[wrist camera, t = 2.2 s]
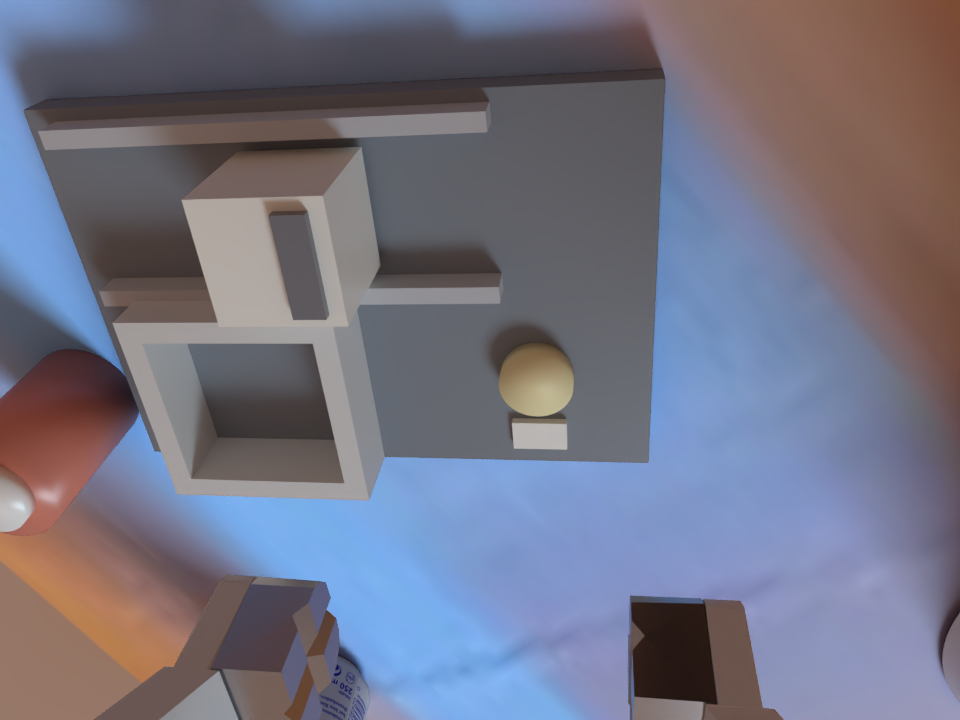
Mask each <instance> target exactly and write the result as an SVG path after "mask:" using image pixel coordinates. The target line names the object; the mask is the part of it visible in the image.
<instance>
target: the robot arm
mask: <svg viewBox="0 0 960 720" xmlns="http://www.w3.org/2000/svg"><path fill="white" fill-rule="evenodd" d="M330 598H331V597H330V594H329V591H328V588H327V585H326V582H321V581H309V580H296V579H283V578H270V577H254V576H238V575H226V576H225V577H224V578H223V579H222V580H221V581H220V582H219V583H218V584H217V585H216V587H215V589H214V591H213V593H212V595H211V597H210V599H209V601H208V603H207V604H206V606H205V608H204V610H203V612H202V614H201V616H200V618H199V620H198V622H197V623H196V625H195V627H194V629H193V631H192V633H191V635H190V637H189V639H188V641H187V643H186V644H185V646H184V648H183V650H182V652H181V654H180V656H179V658H178V660H177V662H176V663H175V665H174V667H163V668H162V669H160V670H159V671H158V672H156V673H155V674H154V675H153V676H151V677H150V678H149V679H147V680H146V681H145V682H143V683H142V684H141V685H139V686H138V687H137V688H135V689H134V690H133V691H131V692H130V693H129V694H127V695H126V696H125V697H123V698H122V699H121V700H119V701H118V702H117V703H115V704H114V705H113V706H111V707H110V708H109V709H107V710H106V711H105V712H104V713H102V714H101V715H99V716H98V717H97V718H95V719H94V720H319V719H320V716H321V713H322V707H321V704H320V700H319V697H318V694H319V693H320V692H321V691H322V690H323V689H324V688H326V687H327V686H328V685H329V684H330V683H331V682H332V679H333V675H334V672H335V669H336V666H337V659H338V652H339V645H340V643H339V628H338V624H337V620H336V618H335V617H334V616H333V615H332V614H331V613H329V612H328V611H327V610H326V609H327V607H328V604H329V601H330ZM942 662H943V671H944V675H945V678H946V681H947V684H948V686H949V688H950V690H951V691H952V693H953V694H954V696H955V697H956V698H957V699H958V701H959V702H960V613H959V615H958V616H957V618H956V619H955V621H954V622H953V624H952V626H951V628H950V630H949V632H948V635H947V637H946V641H945V644H944V649H943V659H942ZM628 703H629V705H630V720H783V718H782V717H781V716H780V715H779V714H778V713H777V712H776V710H775V709H769V708H763V707H762V701H761V696H760V690H759V685H758V680H757V674H756V669H755V663H754V658H753V652H752V647H751V641H750V636H749V631H748V625H747V620H746V614H745V609H744V606H743V605H742V603H741V601H733V600H712V599H703V600H702V599H701V598H679V597H652V596H630V604H629V635H628Z"/></svg>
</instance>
